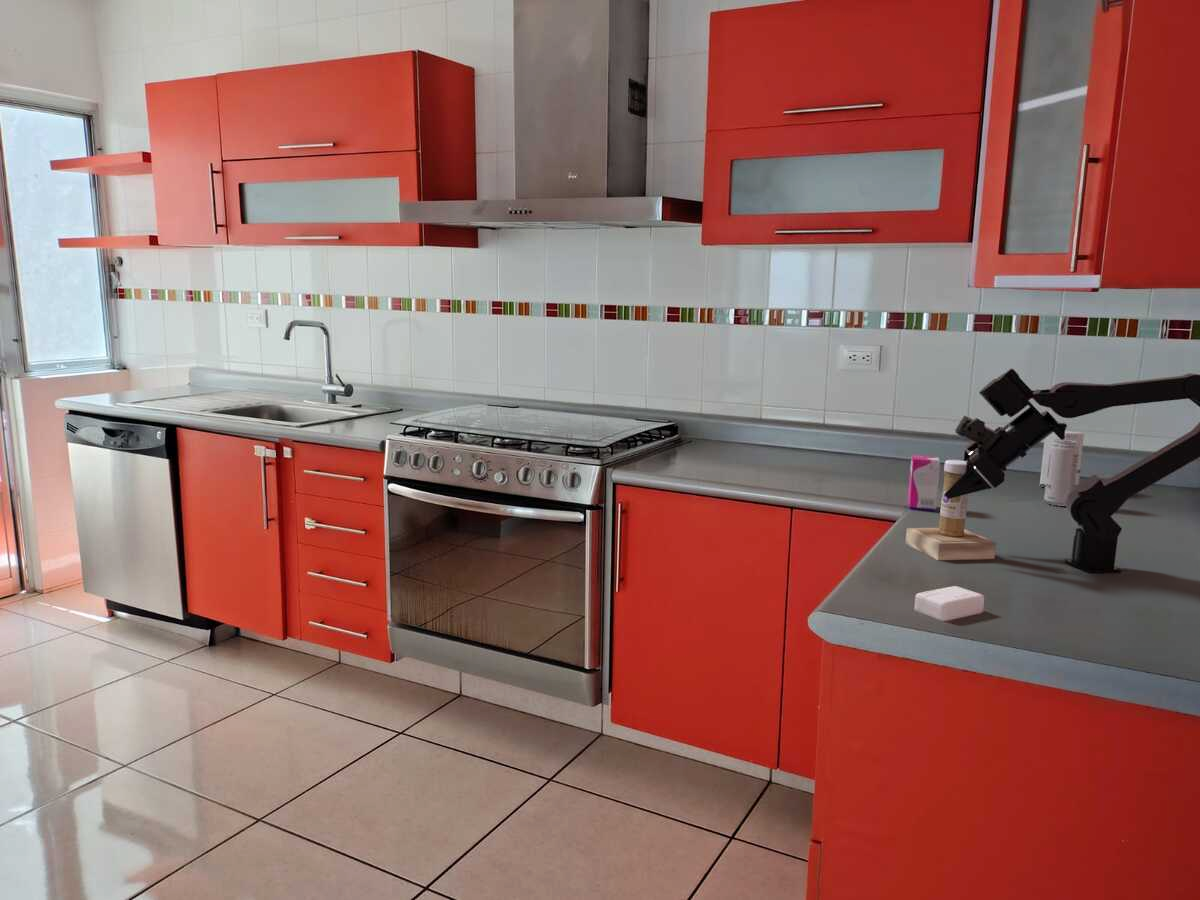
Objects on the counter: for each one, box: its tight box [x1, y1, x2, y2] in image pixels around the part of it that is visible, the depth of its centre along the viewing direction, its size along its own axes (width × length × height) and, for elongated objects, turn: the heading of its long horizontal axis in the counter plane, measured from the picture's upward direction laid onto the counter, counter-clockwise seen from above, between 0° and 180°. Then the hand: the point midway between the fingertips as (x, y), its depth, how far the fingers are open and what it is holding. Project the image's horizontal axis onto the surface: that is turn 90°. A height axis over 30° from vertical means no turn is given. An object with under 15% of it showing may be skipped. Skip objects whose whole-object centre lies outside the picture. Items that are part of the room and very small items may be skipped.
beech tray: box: [904, 527, 997, 561], centre depth 162 cm, size 11×11×3 cm
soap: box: [914, 585, 985, 622], centre depth 129 cm, size 9×6×3 cm, turn 120°
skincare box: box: [1039, 430, 1085, 485], centre depth 227 cm, size 8×6×15 cm
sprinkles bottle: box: [938, 459, 969, 537], centre depth 161 cm, size 5×5×13 cm
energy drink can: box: [1043, 439, 1079, 504], centre depth 207 cm, size 6×6×15 cm
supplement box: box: [907, 455, 941, 512], centre depth 199 cm, size 6×6×12 cm
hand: (945, 492), depth 161 cm, fingers open, 9 cm apart
